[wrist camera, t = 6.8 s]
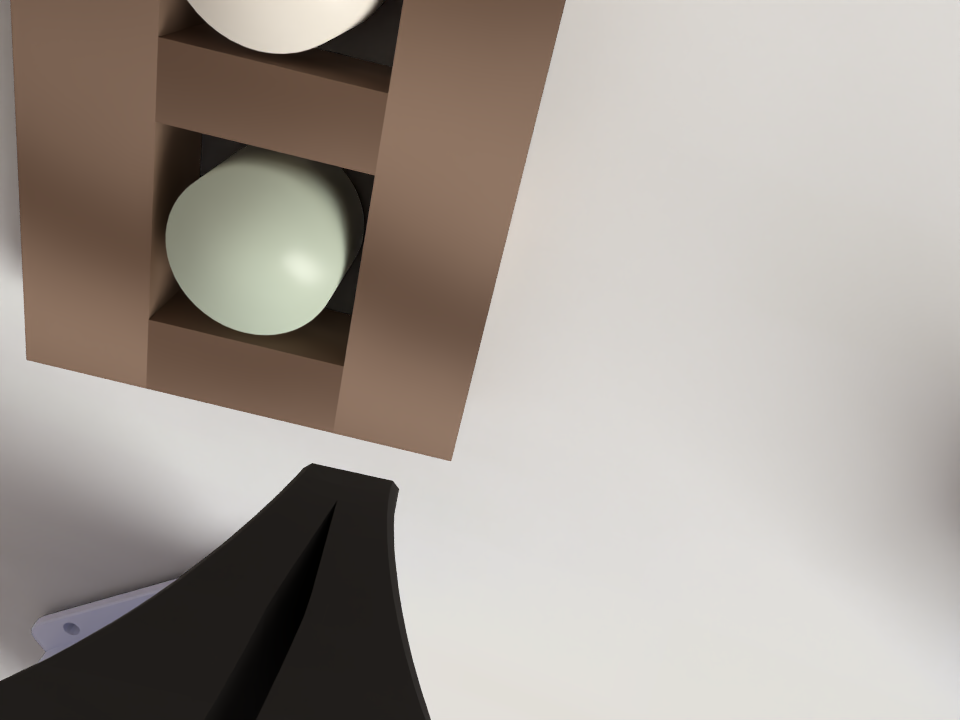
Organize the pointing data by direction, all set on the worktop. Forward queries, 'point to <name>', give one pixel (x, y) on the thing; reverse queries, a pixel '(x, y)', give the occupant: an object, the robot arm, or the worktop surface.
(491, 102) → the button panel
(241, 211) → the sage button
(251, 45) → the cream button
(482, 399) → the worktop surface
